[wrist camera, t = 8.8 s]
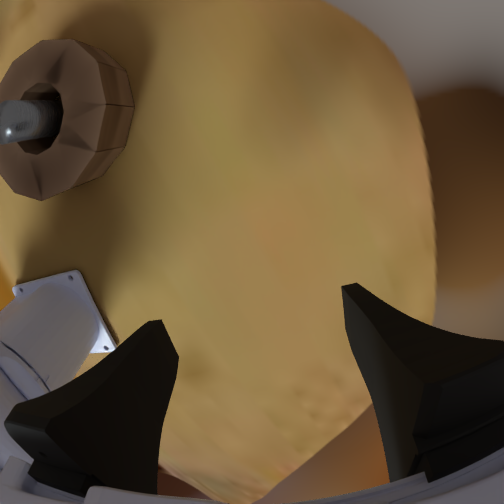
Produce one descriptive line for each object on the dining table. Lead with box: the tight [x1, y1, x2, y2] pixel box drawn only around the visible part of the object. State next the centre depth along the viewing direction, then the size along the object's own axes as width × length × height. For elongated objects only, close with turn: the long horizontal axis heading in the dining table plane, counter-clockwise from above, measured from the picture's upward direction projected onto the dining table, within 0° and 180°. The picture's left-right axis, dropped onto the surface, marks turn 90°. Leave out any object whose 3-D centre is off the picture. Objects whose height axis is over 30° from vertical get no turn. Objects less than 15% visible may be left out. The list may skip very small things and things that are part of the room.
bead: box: [0, 39, 135, 201], centre depth 15 cm, size 10×10×4 cm
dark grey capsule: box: [0, 100, 64, 145], centre depth 14 cm, size 2×2×7 cm
